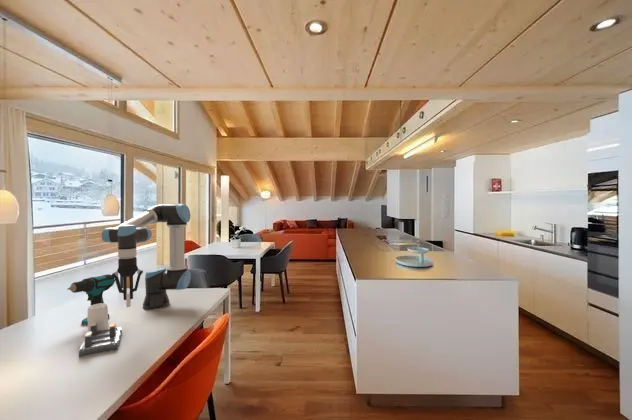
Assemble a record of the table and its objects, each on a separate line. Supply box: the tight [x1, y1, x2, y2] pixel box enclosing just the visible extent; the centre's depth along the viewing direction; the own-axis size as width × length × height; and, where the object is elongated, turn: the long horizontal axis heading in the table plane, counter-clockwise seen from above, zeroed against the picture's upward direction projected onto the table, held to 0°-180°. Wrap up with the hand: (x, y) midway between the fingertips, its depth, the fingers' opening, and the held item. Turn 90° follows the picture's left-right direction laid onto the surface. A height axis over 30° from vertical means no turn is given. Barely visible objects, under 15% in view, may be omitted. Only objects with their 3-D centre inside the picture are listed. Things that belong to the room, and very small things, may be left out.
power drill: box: [67, 273, 116, 325], centre depth 169 cm, size 26×9×25 cm, turn 169°
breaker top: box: [84, 331, 93, 347], centre depth 135 cm, size 2×4×5 cm, turn 28°
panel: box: [78, 326, 123, 358], centre depth 143 cm, size 14×20×3 cm
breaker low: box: [91, 322, 97, 335], centre depth 147 cm, size 2×4×5 cm, turn 28°
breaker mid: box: [108, 322, 117, 337], centre depth 145 cm, size 2×4×5 cm, turn 28°
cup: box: [86, 302, 109, 332], centre depth 154 cm, size 8×8×14 cm
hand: (128, 306), depth 147 cm, fingers closed
